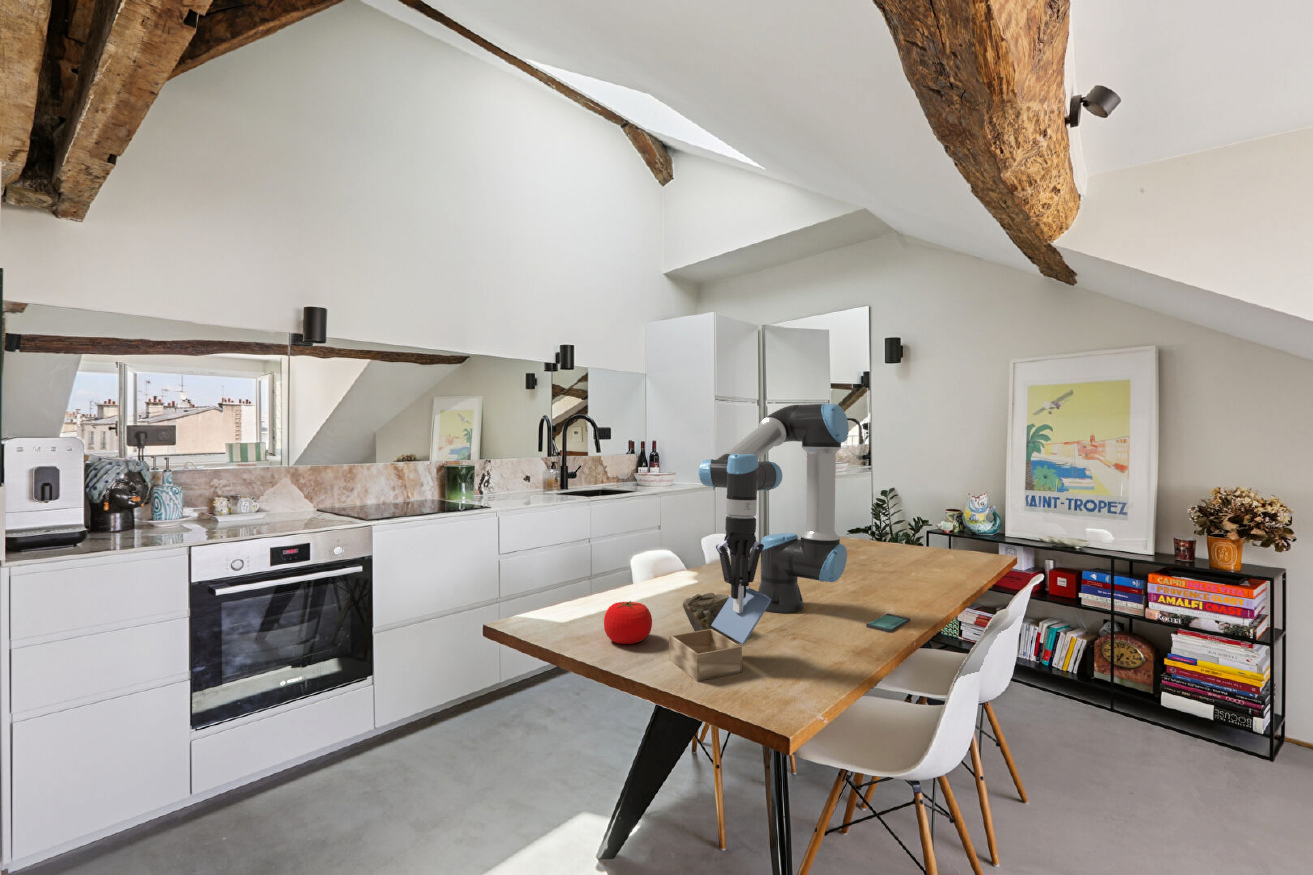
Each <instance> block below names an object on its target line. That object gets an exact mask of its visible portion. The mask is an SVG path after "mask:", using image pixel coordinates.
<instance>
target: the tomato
mask: <svg viewBox="0 0 1313 875" xmlns="http://www.w3.org/2000/svg"><path fill="white" fill-rule="evenodd" d="M652 628H653V617H652V614H651V611H650V609H649V608H648V606H646V605H645V604H643V603H642V602H635V601H632V600H629V601H619V602H618V601H617V602H614V603H612V605H610V606H609V607H608V608H607V610H606V612H605V614H604V618H603V629H604V632H605V634H606V636H607V638H608V639H609V640H611V641H612V642H614V643H616V644H621V645H631V644H636V643H640V642H641V641H643V640H645V639H647V637H648V636H649V635H650V634H651V632H652Z"/></svg>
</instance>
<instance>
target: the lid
mask: <svg viewBox="0 0 1313 875" xmlns="http://www.w3.org/2000/svg"><path fill="white" fill-rule="evenodd" d="M771 600H772V599H770V598H769V597H768V596H767V595H765V594H763V593H760V592H758V590H756V589H754V588H751V587H749V586H746V597H745V598H743V613H738V612H736V611H734V610H733V598H732V597H731V595H730V596H729V599H728V600H727V602H726V603H725V605H724V606H723V608H722V609H721V611H720V612H719V614H718V615H717V617H716V619H715V620H714V622H713V623H712V625H711V626H712V627H714V628H716V629H718V630H719V631H721V632H723V633H724V634H726V635H728V636H730V639H733V640H735V641H736V642H738V643H740V644H742V645H745V644H746V643H747V641H748V639H749V638H750V636H751V634H752V633H753V631H754V629H755V627H756V626H757V625H758V623H759V621H760V620H761V618H762V616H763V615H764V613H765V612H766V611H765V610H766V609H767V607H768V605H769V604H770V602H771Z"/></svg>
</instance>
